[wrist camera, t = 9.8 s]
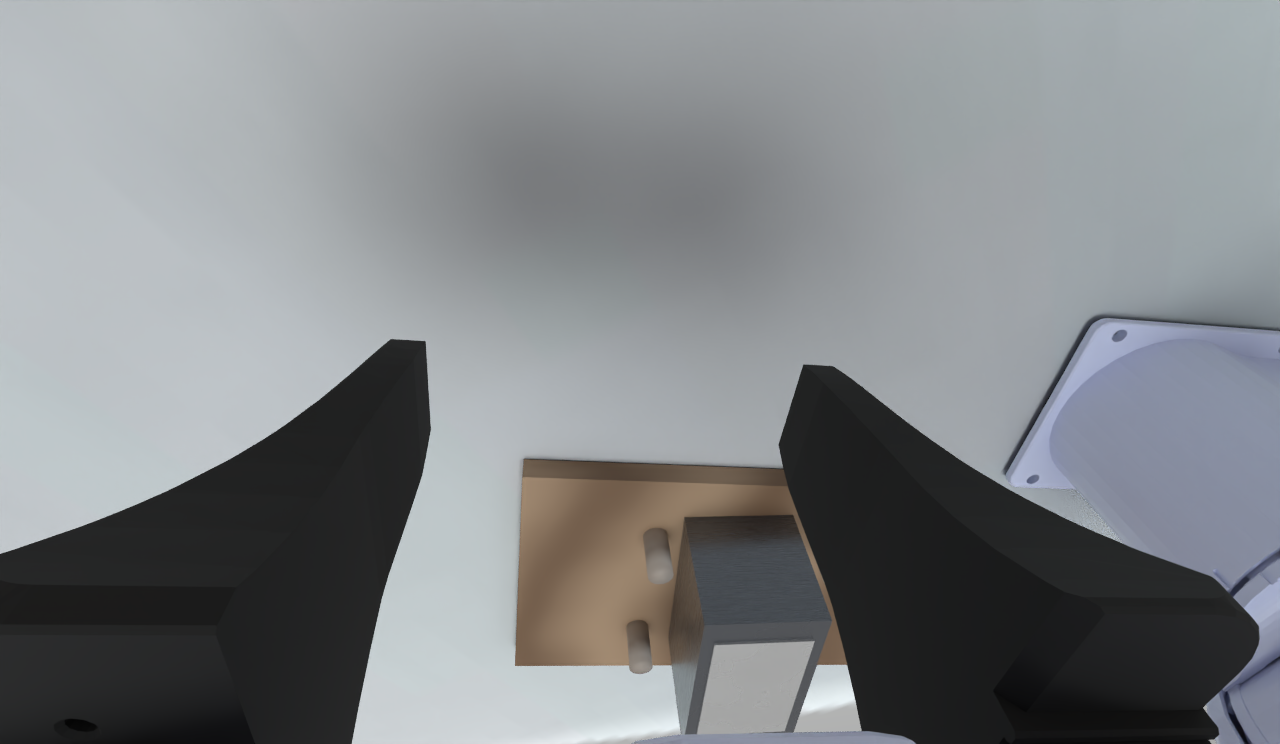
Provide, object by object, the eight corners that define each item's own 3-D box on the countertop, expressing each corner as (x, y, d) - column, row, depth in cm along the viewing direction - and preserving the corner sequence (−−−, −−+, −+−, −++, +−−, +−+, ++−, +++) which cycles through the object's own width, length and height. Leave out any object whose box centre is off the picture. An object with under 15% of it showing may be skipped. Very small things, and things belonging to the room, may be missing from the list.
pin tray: (955, 475, 28) (991, 529, 26) (867, 646, 35) (889, 702, 32) (524, 459, 26) (518, 516, 23) (516, 646, 32) (511, 707, 30)
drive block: (793, 514, 27) (833, 623, 23) (761, 634, 32) (790, 743, 28) (684, 517, 27) (705, 627, 23) (667, 638, 31) (682, 749, 27)
